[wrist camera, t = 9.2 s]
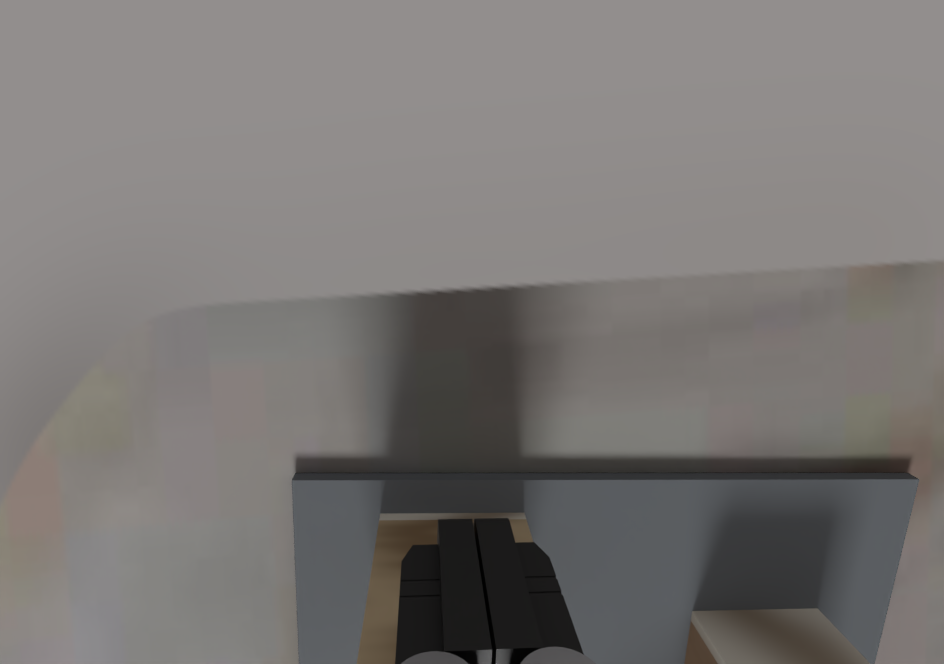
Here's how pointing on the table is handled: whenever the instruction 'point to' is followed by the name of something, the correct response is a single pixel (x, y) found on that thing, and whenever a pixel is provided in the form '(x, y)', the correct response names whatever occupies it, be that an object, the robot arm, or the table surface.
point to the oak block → (386, 571)
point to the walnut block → (767, 638)
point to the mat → (626, 549)
